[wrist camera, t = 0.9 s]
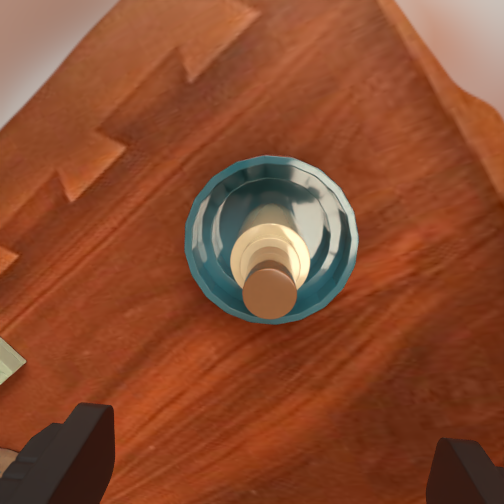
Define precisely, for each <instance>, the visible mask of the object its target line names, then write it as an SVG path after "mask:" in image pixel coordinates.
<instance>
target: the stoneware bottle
mask: <svg viewBox="0 0 504 504" xmlns="http://www.w3.org/2000/svg"><path fill="white" fill-rule="evenodd" d="M230 266H231V271H232V274H233V277H234V279H235V280H236V282H237V283H238V285H239V286H240V287H241V288H242V289H243V291H242V296H243V301H244V304H245V306H246V307H247V309H248V310H249V311H250V312H251V313H252V314H254V315H255V316H257V317H259V318H263V319H277V318H280V317H283V316H284V315H286V314H287V313H289V312H290V311H291V309H292V308H293V307H294V305H295V303H296V299H297V290H298V289H299V288H300V287H301V286H302V285H303V283H304V282H305V280H306V278H307V276H308V273H309V270H310V254H309V250H308V247H307V244H306V242H305V239H304V236H303V233H302V230H301V227H300V224H299V222H298V219H297V218H296V216H295V215H294V213H293V212H292V211H291V210H289V209H288V208H286V207H285V206H283V205H280V204H276V203H266V204H261V205H259V206H257V207H255V208H253V209H252V210H251V211H250V212H249V213H248V214H247V215H246V217H245V218H244V220H243V223H242V225H241V228H240V230H239V233H238V236H237V238H236V241H235V243H234V246H233V249H232V252H231V257H230Z"/></svg>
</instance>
